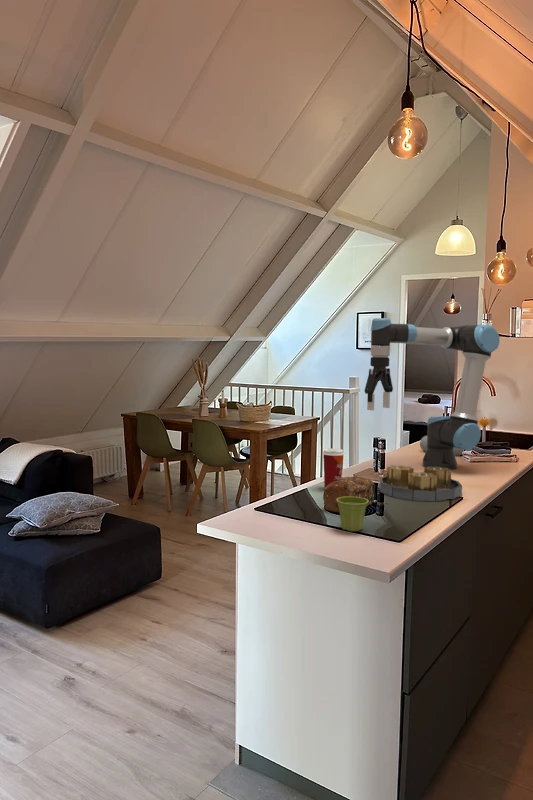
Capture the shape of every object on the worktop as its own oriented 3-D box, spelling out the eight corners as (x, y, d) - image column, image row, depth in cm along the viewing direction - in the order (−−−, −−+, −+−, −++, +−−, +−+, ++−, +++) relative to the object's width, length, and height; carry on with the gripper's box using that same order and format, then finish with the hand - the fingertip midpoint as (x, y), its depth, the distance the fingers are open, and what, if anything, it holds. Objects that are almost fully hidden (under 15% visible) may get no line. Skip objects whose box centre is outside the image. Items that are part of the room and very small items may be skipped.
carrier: (400, 479, 251) (400, 461, 250) (471, 490, 233) (472, 470, 232) (365, 492, 227) (366, 472, 227) (442, 505, 210) (443, 484, 209)
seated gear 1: (415, 486, 229) (415, 470, 228) (439, 490, 223) (440, 474, 222) (404, 491, 221) (404, 475, 221) (429, 495, 215) (430, 478, 215)
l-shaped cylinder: (422, 454, 305) (464, 455, 302) (422, 432, 306) (464, 434, 303) (419, 455, 322) (458, 457, 319) (419, 435, 323) (458, 437, 320)
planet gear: (416, 482, 236) (417, 467, 235) (406, 487, 228) (406, 471, 228) (393, 479, 241) (394, 464, 241) (382, 483, 234) (383, 467, 233)
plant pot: (333, 524, 186) (333, 496, 185) (363, 523, 187) (364, 495, 186) (339, 533, 177) (339, 504, 176) (371, 533, 178) (372, 503, 177)
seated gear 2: (430, 480, 240) (430, 465, 239) (453, 484, 234) (454, 468, 233) (419, 484, 232) (420, 469, 232) (444, 488, 226) (445, 472, 226)
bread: (349, 515, 196) (350, 485, 195) (321, 510, 202) (321, 480, 202) (375, 504, 211) (376, 475, 210) (348, 499, 217) (349, 471, 217)
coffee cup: (342, 492, 227) (343, 452, 226) (320, 490, 229) (321, 451, 228) (344, 487, 235) (345, 448, 234) (323, 485, 237) (323, 447, 236)
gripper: (385, 356, 260) (384, 406, 262) (356, 356, 240) (355, 410, 242) (402, 356, 255) (400, 407, 257) (373, 357, 235) (372, 412, 237)
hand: (378, 409), depth 249 cm, fingers open, 13 cm apart
